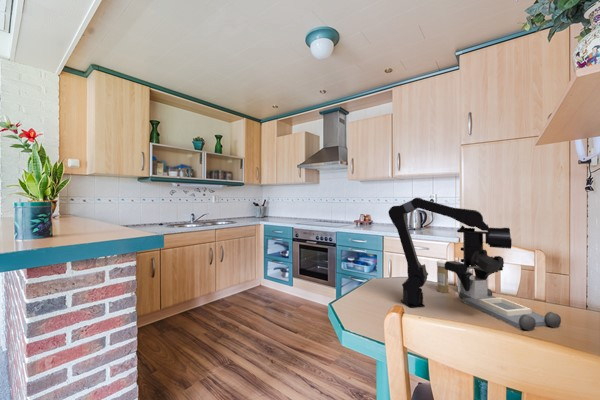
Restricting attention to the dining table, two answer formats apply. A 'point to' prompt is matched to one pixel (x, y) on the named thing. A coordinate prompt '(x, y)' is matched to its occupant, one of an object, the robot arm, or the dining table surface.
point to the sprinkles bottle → (442, 277)
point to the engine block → (475, 287)
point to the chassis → (511, 312)
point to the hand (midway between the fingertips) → (473, 290)
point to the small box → (459, 280)
